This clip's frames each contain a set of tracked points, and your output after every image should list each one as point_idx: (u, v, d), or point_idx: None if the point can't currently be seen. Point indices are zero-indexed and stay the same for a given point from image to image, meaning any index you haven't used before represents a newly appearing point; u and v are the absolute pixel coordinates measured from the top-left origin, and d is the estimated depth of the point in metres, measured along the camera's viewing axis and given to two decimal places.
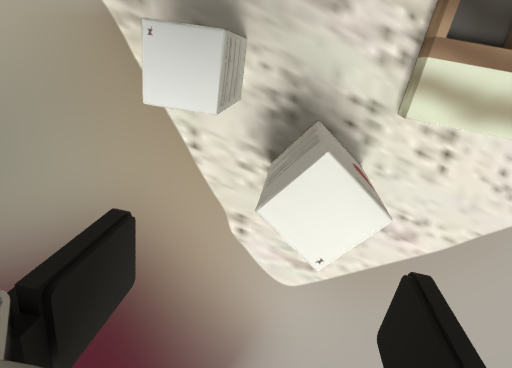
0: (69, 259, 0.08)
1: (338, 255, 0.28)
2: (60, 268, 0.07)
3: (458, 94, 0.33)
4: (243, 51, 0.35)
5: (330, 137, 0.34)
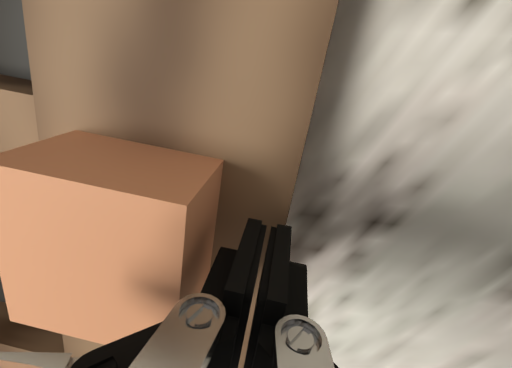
0: (248, 266, 0.08)
1: None
2: (248, 275, 0.08)
3: None
4: None
5: None
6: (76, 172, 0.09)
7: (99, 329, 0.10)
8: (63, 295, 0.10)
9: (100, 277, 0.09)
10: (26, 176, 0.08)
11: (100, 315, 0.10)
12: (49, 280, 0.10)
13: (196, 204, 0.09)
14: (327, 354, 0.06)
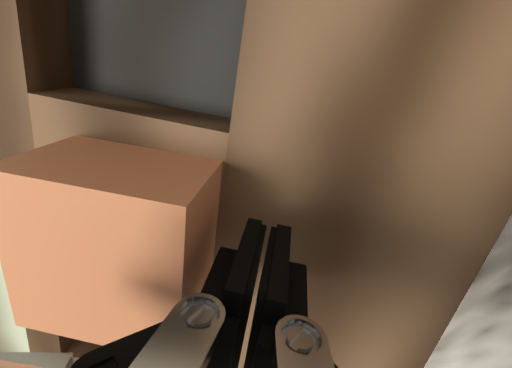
0: (248, 266, 0.08)
1: None
2: (248, 274, 0.08)
3: None
4: None
5: None
6: (77, 177, 0.09)
7: (103, 332, 0.10)
8: (67, 299, 0.10)
9: (103, 280, 0.09)
10: (28, 182, 0.08)
11: (104, 318, 0.10)
12: (53, 284, 0.10)
13: (196, 205, 0.09)
14: (327, 354, 0.06)
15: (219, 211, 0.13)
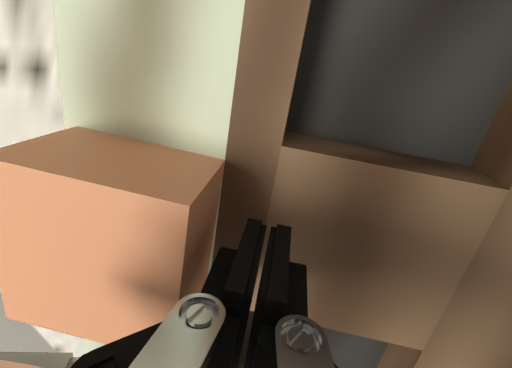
0: (248, 266, 0.08)
1: None
2: (248, 274, 0.08)
3: (153, 12, 0.10)
4: None
5: None
6: (78, 170, 0.08)
7: (96, 327, 0.10)
8: (60, 293, 0.10)
9: (100, 276, 0.09)
10: (27, 172, 0.08)
11: (98, 313, 0.10)
12: (47, 278, 0.10)
13: (198, 204, 0.09)
14: (327, 354, 0.06)
15: (465, 266, 0.12)
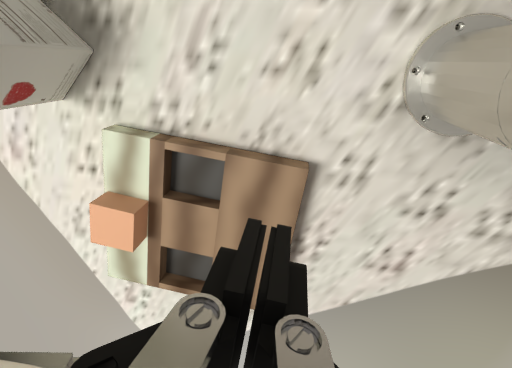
0: (248, 266, 0.08)
1: None
2: (248, 274, 0.08)
3: (128, 166, 0.41)
4: None
5: (57, 59, 0.34)
6: (111, 206, 0.39)
7: (114, 243, 0.41)
8: (105, 234, 0.40)
9: (115, 230, 0.40)
10: (100, 207, 0.39)
11: (114, 239, 0.40)
12: (102, 230, 0.40)
13: (137, 213, 0.39)
14: (327, 354, 0.06)
15: (216, 230, 0.43)
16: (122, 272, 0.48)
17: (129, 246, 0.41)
